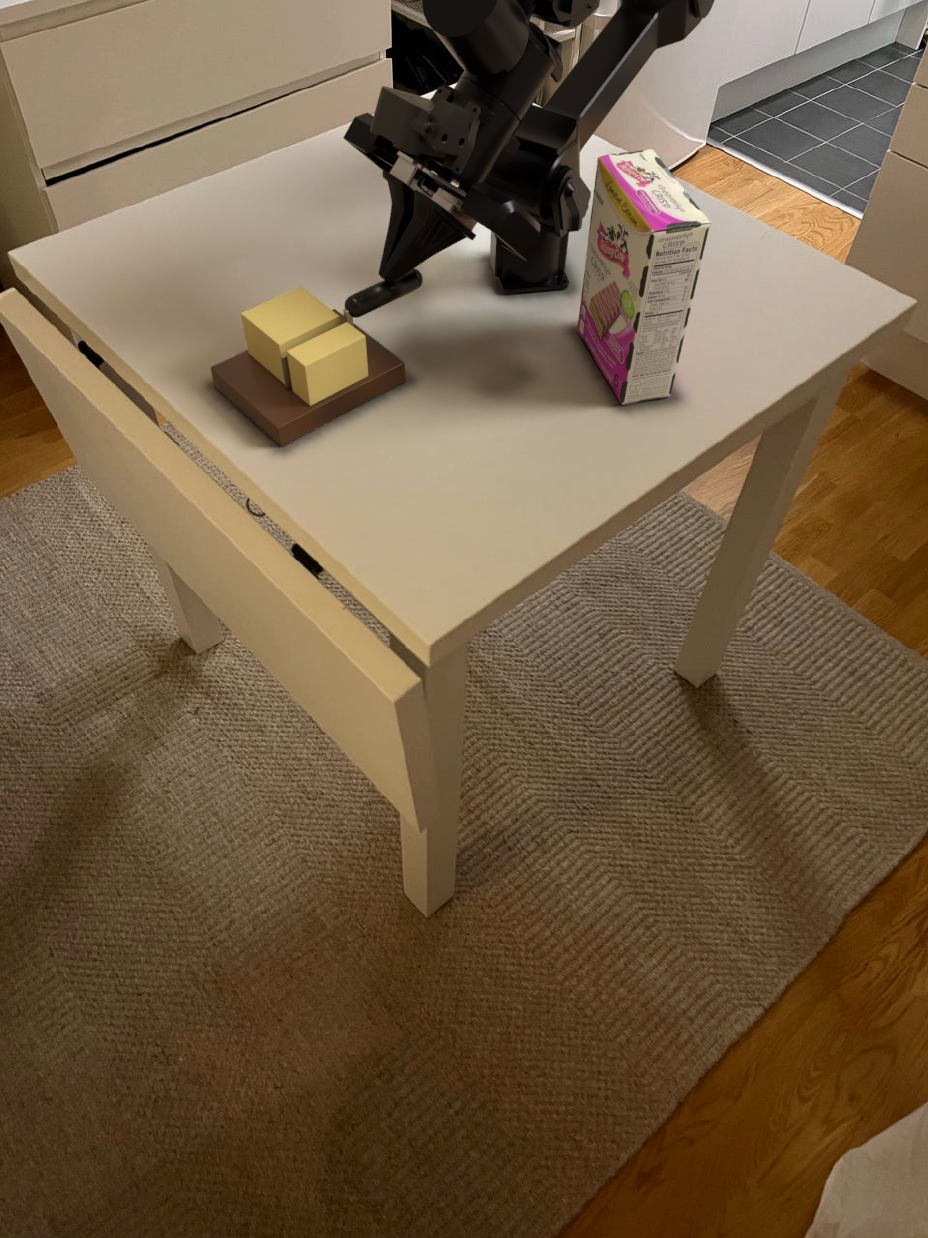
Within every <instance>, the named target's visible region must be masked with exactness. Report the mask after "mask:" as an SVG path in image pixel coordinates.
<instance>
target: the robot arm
mask: <svg viewBox="0 0 928 1238" xmlns="http://www.w3.org/2000/svg"><path fill="white" fill-rule="evenodd" d="M715 2H716V1H715V0H619V7H618V8H617V10H616V11H615V12H614V14H613V15H612V16H611V18H610V19H609V20H608V21H607V23H606V24H605V25H604V27H603V28H602V29H601V31H600V32H599V33H598V34H597V36H596V37H595V39H593V40H592V42H591V44H590V45H589V46H588V47H587V49H586V50H585V51H584V52H583V54H582V55H581V57H579V59H578V60H577V62H576V63H575V64H574V66H573V67H572V69H571V70H570V71H569V72H568V74H566V76H565V78H564V79H563V72H564V65H563V60H562V49H563V43H562V42H560V41H559V40H557V39H556V38H553V37H551V36H550V35H548V34H546V33H545V32H544V31H543V29H542V28H541V27H540V26H539V25H537V24H535V23H534V22H532V21H531V19H533V20H537V21H539V22H543V23H547V24H551V25H553V26H558V27H561V28H564V29H568V30H573V29H576V28H577V27H579V26H580V25H581V24H582V23H584V21H586V20H587V18H589V17H590V16H591V15H592V14H593V13H594V12H596V10H598V9H599V8H600V4H601V0H422V3H421V4H422V5H421V6H422V11H423V16H424V18H425V20H426V22H427V24H428V26H429V27H430V28H431V30H432V31H433V32H434V34H435V35H436V36H437V37H438V39H439V40H440V42H442V44H443V45H444V46H445V48H446V49H447V50H448V51H449V53H450V54H451V55H452V57H453V58H454V59H455V60H456V62H457V63H458V64H459V66H460V67H461V68H462V69H463V70H464V71H463V72H462V74H461V75H460V77H459V79H458V81H457V83H456V84H455V86H454V88H453V87H452V86H450V85H448V84H446V83H442V85H440V86H438V87H437V89H436V90H435V92H434V93H433V95H432V96H431V98H428V97H427V98H426V97H423V96H421V95H419V94H418V95H417V94H415V93H411V92H408V91H403V90H400V89H396V88H392V87H390V86H385V85H382V86H381V88H380V91H379V95H378V98H377V103H376V106H375V109H374V113H373V115H372V114H371V113H369V112H365V113H362V114H360V115H357V116H354V117H353V119H352V121H351V123H350V124H349V127H348V129H347V131H345V134H344V135H343V137H342V139H343V140H344V141H346V142H347V144H349V145H351V147H353V148H354V149H355V150H357V151H358V152H359V153H360V154H362V155H363V156H364V157H365V158H366V159H368V161H370V162H371V163H372V164H374V165H375V166H376V167H378V168H379V169H380V170H381V171H382V173H381V174H382V178H383V179H384V180H385V181H386V182H387V185H388V186H387V187H388V190H389V195H390V200H391V207H390V213H389V214H390V215H389V221H388V227H387V232H386V236H385V241H384V245H383V251H382V255H381V260H380V265H379V269H378V277H380V278H381V279H382V280H386V281H387V282H389V283H393V282H394V281H396V280H397V279H399V278H400V277H402V276H403V275H405V274H406V273H408V272H409V271H411V270H412V269H414V268H415V269H416V268H417V267H418V266H420V265H422V264H423V263H424V262H426V261H428V260H429V259H431V258H432V257H434V256H435V255H437V254H439V253H440V252H443V251H444V250H446V249H447V248H450V247H451V246H453V245H455V244H457V243H459V242H460V241H462V240H465V239H469V240H471V241H474V239H476V238H477V234H476V233H474V232H473V230H474V228H475V227H476V225H477V224H479V225H481V226H483V227H484V228H486V229H487V230H489V231H490V243H489V246H490V247H489V264H490V268H491V271H492V274H493V275H494V277H495V278H496V279H497V280H498V283H499V285H500V287H501V291H502V293H504V294H508V295H509V294H519V293H529V292H540V291H541V292H542V291H550V290H562V289H567V288H569V286H570V280H569V278H568V275H567V273H566V263H567V255H568V246H569V237H570V233H572V232H579V231H580V230H581V229H582V226H583V220H584V218H585V217H586V215H587V211H588V210H589V207H590V206H589V203H590V200H591V197H592V191H591V190H590V189H589V187H588V186H587V184H586V183H585V181H584V180H583V178H582V177H581V152H582V150H583V148H584V147H585V146H586V144H587V143H588V142H589V140H590V139H591V137H592V136H593V135H594V133H596V131H597V129H598V128H599V127H600V126H601V124H602V122H603V121H604V120H605V118H606V117H607V116H608V115H609V114H610V112H611V111H612V110H613V108H614V107H615V105H616V104H617V103H618V101H619V100H620V98H621V97H622V96H623V94H624V93H625V91H626V90H627V89H628V87H629V86H630V85H631V83H632V82H633V81H634V80H635V78H636V77H637V75H638V74H639V73H640V71H641V70H642V69H643V68H644V66H645V65H646V63H647V62H648V61H649V59H650V58H651V56H653V54H654V53H655V52H656V51H657V50H659V49H662V48H665V47H667V46H671V45H674V44H677V43H679V42H682V41H684V40H685V39H686V38H687V37H688V36H689V35H690V34H691V33H692V32H693V31H694V30H695V29H696V28H697V27H698V25H699V24H701V22H702V21H703V19H706V18H707V17H708V15H709V14H710V12H711V10H712V8H713V6H714V3H715ZM562 79H563V80H562ZM548 80H551V81H553V82H555V84H556V83H560V82H561V83H560V84H559V85H558V86H557V88H556V89H555V90H554V91H553V93H552V94H551V95H550V97H549V98H548V99H547V100H546V102H545V103H544V105H543V106H539V105H536V104H534V102H535V101H536V100H537V98H538V96H539V94H540V93H541V91H542V90H543V88H544V86H545V85H546V84H547V81H548ZM561 80H562V81H561ZM452 183H453V184H452ZM454 184H455V185H454ZM456 185H457V186H456Z"/></svg>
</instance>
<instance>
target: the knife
mask: <svg viewBox="0 0 928 1238" xmlns="http://www.w3.org/2000/svg"><path fill="white" fill-rule="evenodd" d="M423 283H424V276H423V274H422V272H421V271H420V270H419V269H418V268H416V267H415V268H414V269H412V270H411V271H409V272H408V273H406V274H405V275H403V276H402V277H400V278H399V279H397V280H396V281H394V282H393V283H389V282H387V281H386V280H384V279H382V280H381V281H378V282H376V283H375V284H372V285H370V286H368V287H366V288H364V289H361V290H359V291H357V292H355V293H353V294H351V295H349V296H348V297H347V298H346V299H345V301H344V305H343V307H344V308H343V309H342V312H343V316H344V323H346V322H348V323H349V324H350V325H352V326H353V327H354V325H353V323H354V318H355V319H359V318H361V317H363V316H365V315H367V314H369V313H371V312H373V311H375V310H378V309H379V308H382V307H383V306H386V305H387V304H390V303H392V302H393V301H396V300H398V299H400V298H403V297H404V296H406V295H409V294H410V293H413V292H415V291H417V290H418V289H420V287H421V286H422V285H423ZM281 361H282V367H283V373H284V379H285V385H286V387H287V388H288V387H290V386H292V383H291V377H290V371H289V364H288V358H287V354H285V355H283V356H281Z"/></svg>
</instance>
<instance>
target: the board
mask: <svg viewBox="0 0 928 1238" xmlns="http://www.w3.org/2000/svg"><path fill="white" fill-rule="evenodd" d="M331 310H332V311H334V312H335V313H336V314H337V315H339V317H340V325H342V324H344V314H342V312H340V311H338V310H337V309H336V308H333V309H331ZM353 325H354V328H356V329H357V330H358V331H359V332H361V333H362V334H363V335H365V337H366V350H367V363H368V377H366V378H364V379H362V380H360V381H358V382H356V383H354V384H352V385H350V386H348V387H346V388H344V389H342V390H340V391H339V392H337V393H335V394H333V395H331V396H329V397H327V398H325V399H323V400H321V401H319V402H317V403H315V404H313V405H311V406H310V405H308V404H307V403H306V402H305V401H304V400H303V399H301V398H300V397H299V396H298V395H297V394H296V393H294V392H293V390H292V386H290V387H288V388H287V387H286V385H285V384H284V383H283V382H281V381H280V380H279V379H278V378H277V377H276V376H274V375H273V374H272V373H271V372H270V371H269V370H267V369H266V368H265V367H264V366H263V365H262V364H260V363H259V362H258V361H257V360H256V359H255V358H253V357H252V356H251V355H250V354H249V353H248V349H247V350H244V351H242V352H240V353H238V354H236V355H233V356H230V357H229V358H227V359H225V360H222V361H221V362H218V363H216V364H214V365H212V366H210V367H209V368H210V369H209V370H210V374H211V377H212V381H213V386H214V387H215V388H216V389H217V390H218V391H219V392H220V393H221V394H222V395H223V396H225V397H226V398H227V399H228V400H229V401H230V402H231V403H233V405H234V406H236V408H238V409H239V410H240V411H241V412H242V413H243V414H244V415H245V416H247V417H248V418H249V419H250V420H251V421H252V422H253V423H254V424H255V425H256V426H257V427H259V428H260V429H261V430H262V431H263V432H264V433H265V434H267V435H268V437H270V438H271V439H272V440H273V441H274V442H275V443H276V444H277V445H278V446H280V447H281V448H282V447H284V446H285V445H288V444H289V443H292V442H293V441H295V440H298V439H299V438H301V437H303V436H304V435H307V434H308V433H310V432H312V431H314V430H316V429H318V428H320V427H322V426H324V425H325V424H327V423H329V422H331V421H333V420H335V419H337V418H338V417H341V416H342V415H344V414H346V413H349V412H350V411H352V410H354V409H355V408H357V407H359V406H361V405H364V404H365V403H367V402H369V401H370V400H372V399H374V398H376V397H378V396H380V395H382V394H384V393H386V392H388V391H390V390H391V389H393V388H396V387H397V386H399V385H401V384H403V383H405V382H406V380H407V379H406V362H405V361H404V360H403V359H401V358H400V357H399V356H397V355H396V354H395V353H393V352H392V351H391V350H389V349H388V348H387V347H385V346H384V345H383V344H382V343H380V342H379V341H377V339H375V338H374V337H373V336H371V335H370V334H369V333H367V332H366V331H365V330H363V329H362V328H361V327H359V326H358V325H357V324H355V322H353Z"/></svg>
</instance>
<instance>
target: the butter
mask: <svg viewBox="0 0 928 1238" xmlns="http://www.w3.org/2000/svg"><path fill="white" fill-rule="evenodd" d="M332 310H333V309H331V308H330V307H329V306H327V305H326V304H324V303H323V302H322V301H321V300H319V298H316V296H314V295H313V294H312V293H310V292H309V291H308V290H306V289H305V288H304V287H302V286H298V287H296V288H294V289H291V290H289V291H287V292H284V293H283V294H280V295H278V296H276V297H274V298H272V299H269V300H267V301H264V302H263V303H260V304H258V305H256V306H253V307H251V308H249V309H247V310H245V311H242V312H241V313H240V316H241V321H242V327H243V331H244V336H245V341H246V348H247V350H248V353H249V354H250V355H251V356H252V357H253V358H255V359H256V360H257V361H258V362H259V363H260V364H262V365H263V366H264V367H265V368H266V369H267V370H269V371H270V372H271V373H272V374H273V375H274V376H276V377H277V378H278V379H279V380H280V381H281V382H283V383H284V384H285V379H284V373H283V367H282V361H281V356H283V355H285V354H287V358H288V364H289V371H290V377H291V383H292V390H293V392H294V393H296V394H297V395H298V396H299V397H300V398H301V399H303V400H304V401H305V402H306V403H307V404H308V405H310V406H311V405H313V404H315V403H317V402H319V401H321V400H323V399H325V398H327V397H329V396H331V395H333V394H335V393H337V392H339V391H340V390H342V389H344V388H346V387H348V386H350V385H352V384H354V383H356V382H358V381H360V380H362V379H364V378H366V377H368V363H367V350H366V337H365V335H363V334H362V333H361V332H359V331H358V330H357V329H356V328H354V327H353V326H352V325H350V324H349V323H348V322H346V323H344V324H342V325H340V317H339V315H337V314H336V313H335V312H334V311H332Z"/></svg>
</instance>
